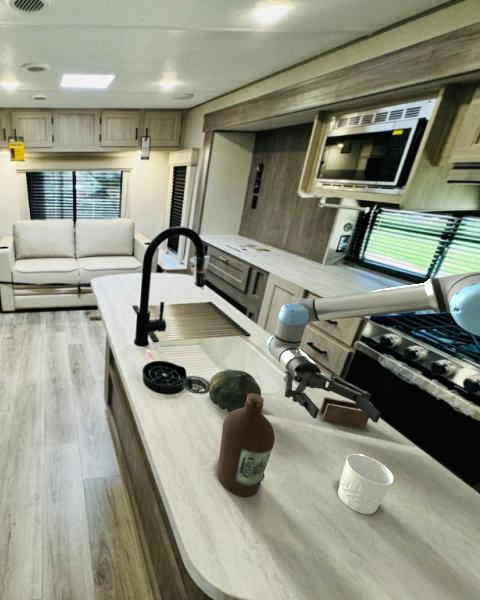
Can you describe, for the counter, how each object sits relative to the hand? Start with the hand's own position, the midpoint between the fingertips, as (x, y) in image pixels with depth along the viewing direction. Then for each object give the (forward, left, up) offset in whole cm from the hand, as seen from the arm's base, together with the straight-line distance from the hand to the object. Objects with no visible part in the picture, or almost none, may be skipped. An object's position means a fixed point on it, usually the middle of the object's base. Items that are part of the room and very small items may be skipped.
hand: (346, 416), depth 75 cm
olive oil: (+22, +13, -16) cm, 31 cm away
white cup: (-3, +9, -16) cm, 19 cm away
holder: (-8, -19, -16) cm, 26 cm away
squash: (+22, -16, -16) cm, 32 cm away
